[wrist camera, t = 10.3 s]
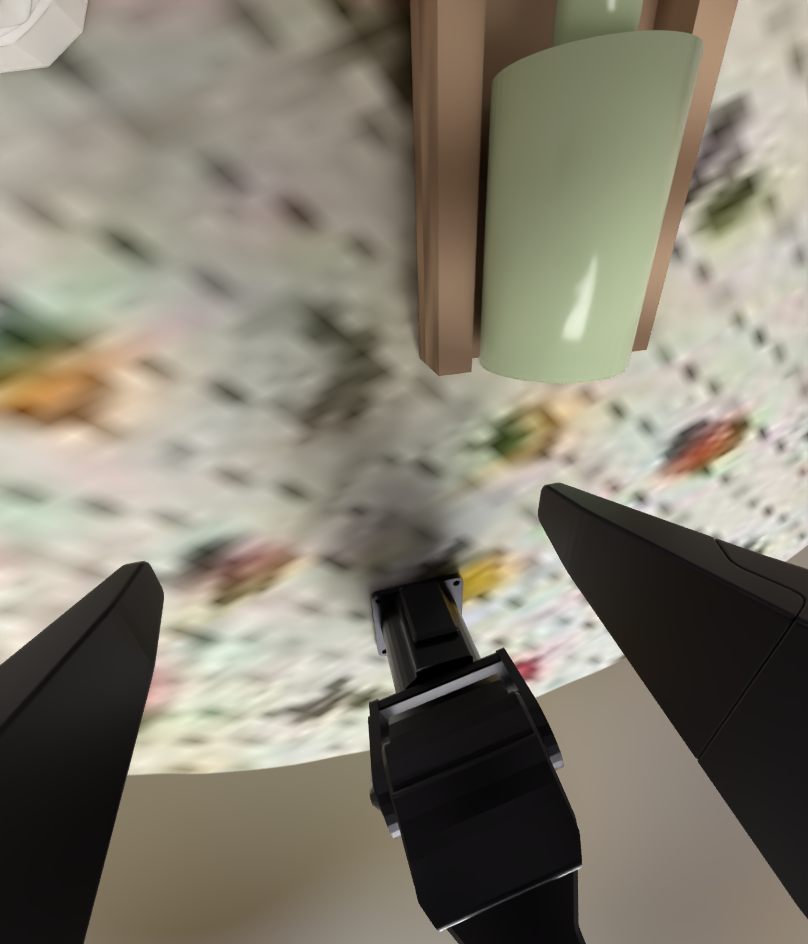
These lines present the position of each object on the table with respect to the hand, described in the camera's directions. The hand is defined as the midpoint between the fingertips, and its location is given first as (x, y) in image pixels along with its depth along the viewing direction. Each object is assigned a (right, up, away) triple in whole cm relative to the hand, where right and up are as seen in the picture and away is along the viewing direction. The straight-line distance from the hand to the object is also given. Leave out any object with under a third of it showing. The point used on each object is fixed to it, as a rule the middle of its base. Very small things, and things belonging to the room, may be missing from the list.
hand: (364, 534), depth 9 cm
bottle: (+7, +13, +7) cm, 17 cm away
